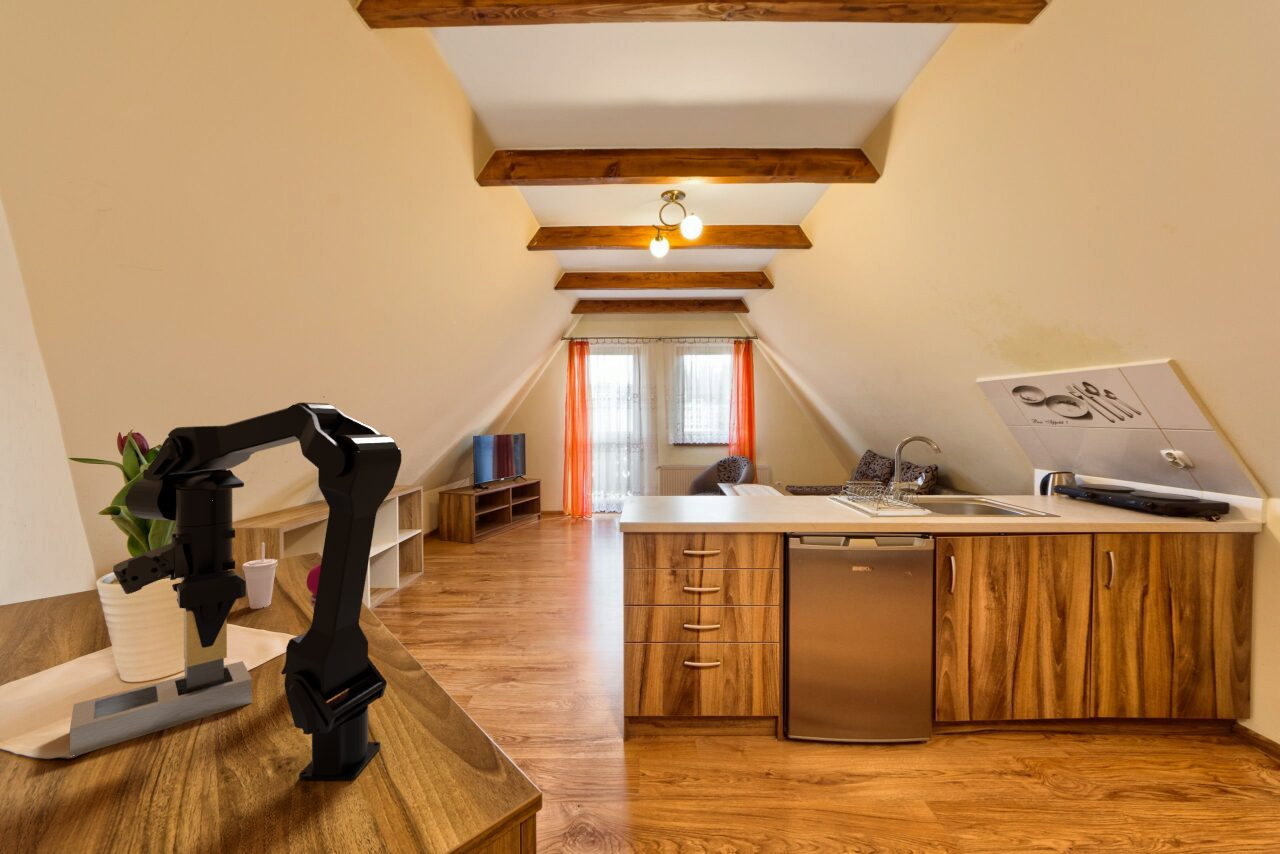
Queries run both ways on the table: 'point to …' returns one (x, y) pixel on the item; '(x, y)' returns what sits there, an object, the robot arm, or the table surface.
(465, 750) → the table surface
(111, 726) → the grey slotted block holder
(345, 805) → the table surface
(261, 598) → the smoothie
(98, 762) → the table surface
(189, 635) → the wooden toy block
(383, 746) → the table surface
